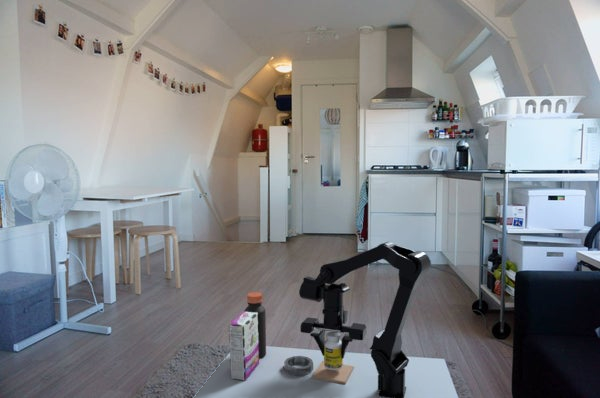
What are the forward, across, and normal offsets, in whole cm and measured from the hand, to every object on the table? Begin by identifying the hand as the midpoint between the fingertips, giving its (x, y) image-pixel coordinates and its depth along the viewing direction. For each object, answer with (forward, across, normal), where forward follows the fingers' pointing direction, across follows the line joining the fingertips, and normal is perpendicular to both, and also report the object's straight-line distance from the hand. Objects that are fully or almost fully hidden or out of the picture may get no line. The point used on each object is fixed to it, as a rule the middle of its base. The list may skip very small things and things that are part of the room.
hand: (333, 356), depth 123 cm
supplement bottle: (+3, 0, 0) cm, 3 cm away
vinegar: (+5, +27, -3) cm, 28 cm away
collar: (+5, +11, +1) cm, 12 cm away
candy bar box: (+5, +25, +8) cm, 27 cm away
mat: (+5, 0, 0) cm, 5 cm away
